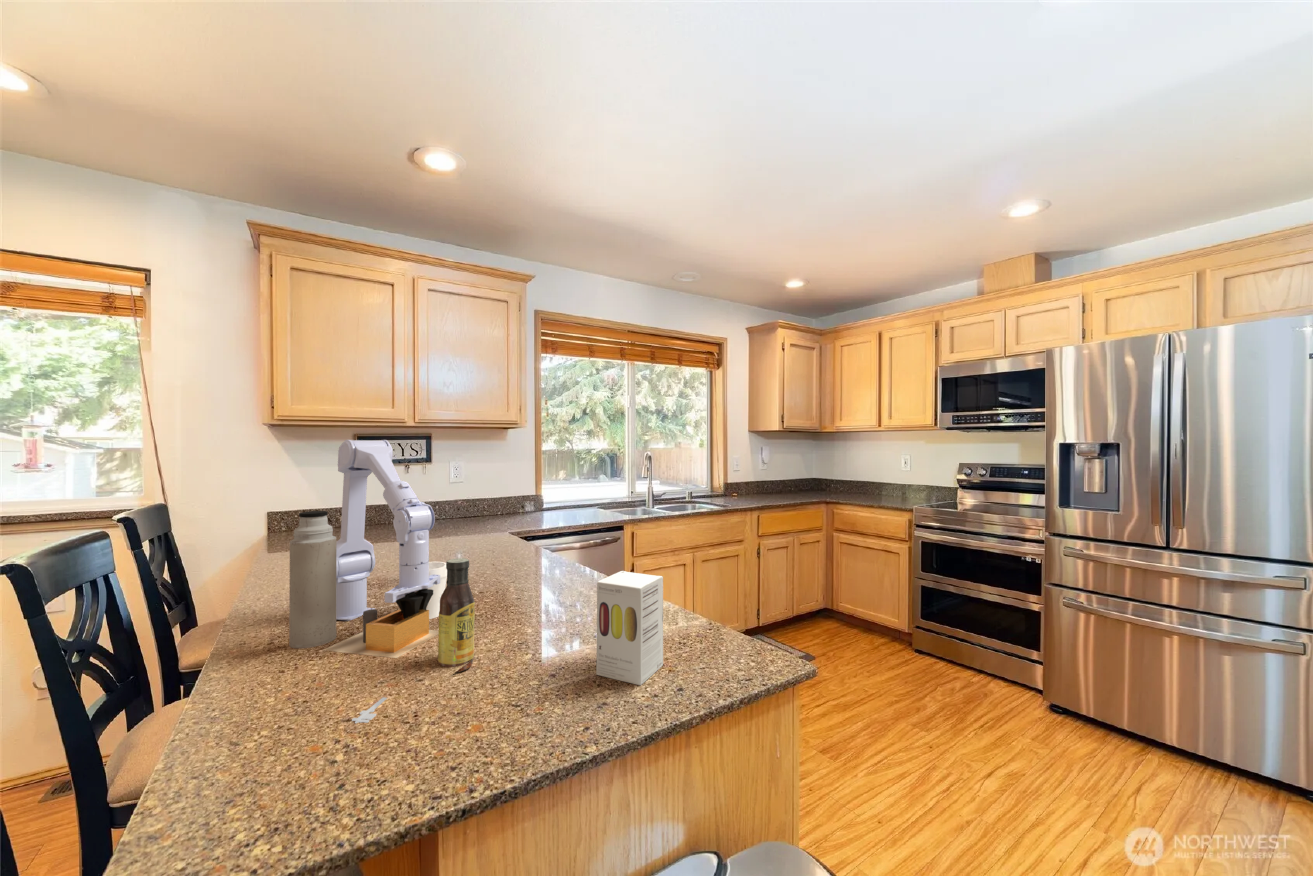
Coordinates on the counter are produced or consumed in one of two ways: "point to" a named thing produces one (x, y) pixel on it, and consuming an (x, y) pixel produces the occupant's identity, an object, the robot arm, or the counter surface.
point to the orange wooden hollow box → (396, 631)
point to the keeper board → (361, 647)
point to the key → (368, 713)
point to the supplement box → (629, 626)
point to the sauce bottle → (456, 618)
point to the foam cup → (436, 587)
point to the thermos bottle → (312, 582)
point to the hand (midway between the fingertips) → (414, 626)
